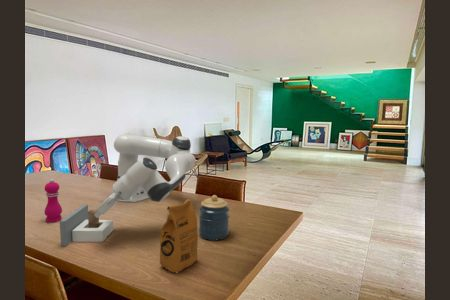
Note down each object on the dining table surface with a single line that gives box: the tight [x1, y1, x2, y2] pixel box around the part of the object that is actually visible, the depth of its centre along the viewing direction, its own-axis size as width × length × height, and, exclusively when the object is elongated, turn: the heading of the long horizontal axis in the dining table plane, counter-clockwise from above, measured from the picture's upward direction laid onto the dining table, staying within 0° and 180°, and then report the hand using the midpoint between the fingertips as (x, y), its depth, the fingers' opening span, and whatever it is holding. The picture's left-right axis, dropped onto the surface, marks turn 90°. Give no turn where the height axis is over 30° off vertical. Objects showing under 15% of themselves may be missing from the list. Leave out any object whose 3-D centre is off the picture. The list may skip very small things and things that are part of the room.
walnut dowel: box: [88, 209, 100, 228], centre depth 122 cm, size 4×4×10 cm
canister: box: [198, 194, 230, 241], centre depth 125 cm, size 13×13×18 cm
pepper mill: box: [44, 178, 63, 223], centre depth 137 cm, size 7×7×20 cm
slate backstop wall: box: [59, 204, 89, 247], centre depth 122 cm, size 2×20×10 cm, turn 2°
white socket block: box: [72, 219, 114, 243], centre depth 122 cm, size 12×12×5 cm
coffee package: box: [159, 198, 199, 273], centre depth 100 cm, size 10×12×22 cm
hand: (100, 211), depth 121 cm, fingers open, 8 cm apart
